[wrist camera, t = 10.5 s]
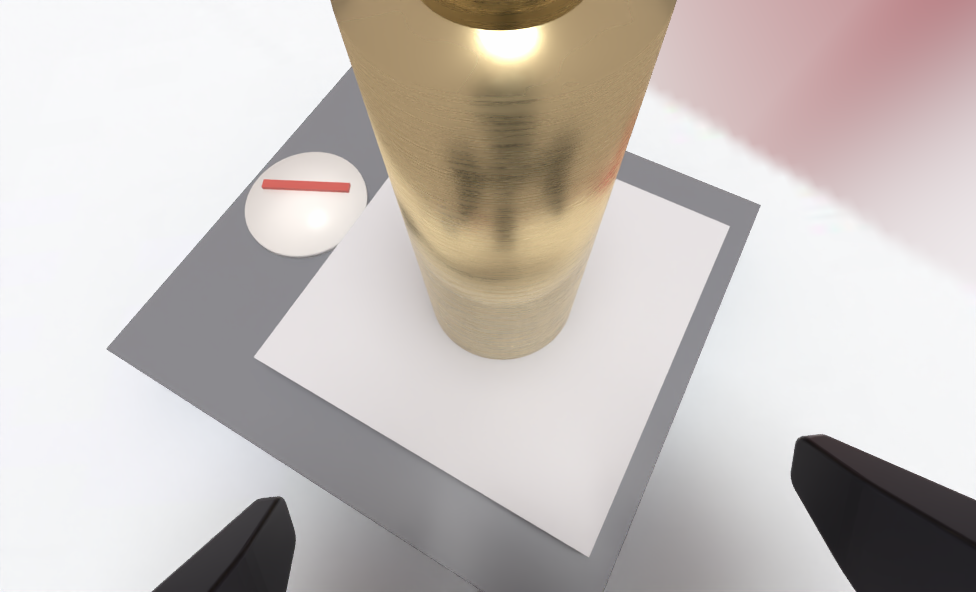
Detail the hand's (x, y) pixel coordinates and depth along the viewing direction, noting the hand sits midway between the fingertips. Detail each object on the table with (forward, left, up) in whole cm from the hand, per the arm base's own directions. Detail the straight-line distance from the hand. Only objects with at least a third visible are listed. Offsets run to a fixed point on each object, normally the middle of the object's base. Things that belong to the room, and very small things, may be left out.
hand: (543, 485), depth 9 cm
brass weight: (+6, +4, -8) cm, 10 cm away
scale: (+6, +6, -12) cm, 15 cm away
